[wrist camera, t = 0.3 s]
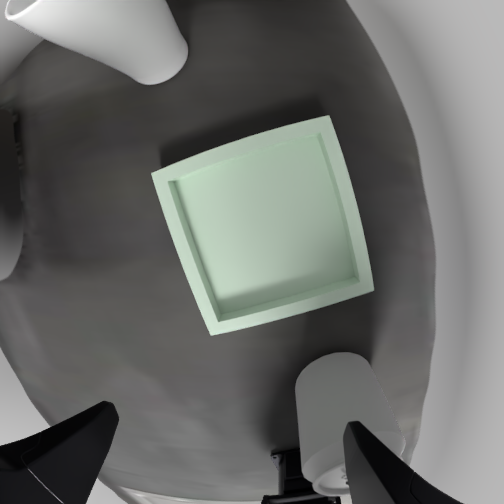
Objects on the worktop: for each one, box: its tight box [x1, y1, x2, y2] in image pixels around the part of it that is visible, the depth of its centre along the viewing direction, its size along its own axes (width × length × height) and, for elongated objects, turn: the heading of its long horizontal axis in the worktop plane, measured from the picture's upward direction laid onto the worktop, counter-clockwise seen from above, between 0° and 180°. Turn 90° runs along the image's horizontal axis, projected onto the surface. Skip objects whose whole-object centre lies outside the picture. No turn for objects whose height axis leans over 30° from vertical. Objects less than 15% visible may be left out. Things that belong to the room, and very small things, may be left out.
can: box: [295, 352, 406, 496], centre depth 17 cm, size 8×8×12 cm
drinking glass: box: [5, 0, 188, 85], centre depth 10 cm, size 7×7×15 cm
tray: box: [151, 115, 374, 336], centre depth 19 cm, size 13×13×2 cm
